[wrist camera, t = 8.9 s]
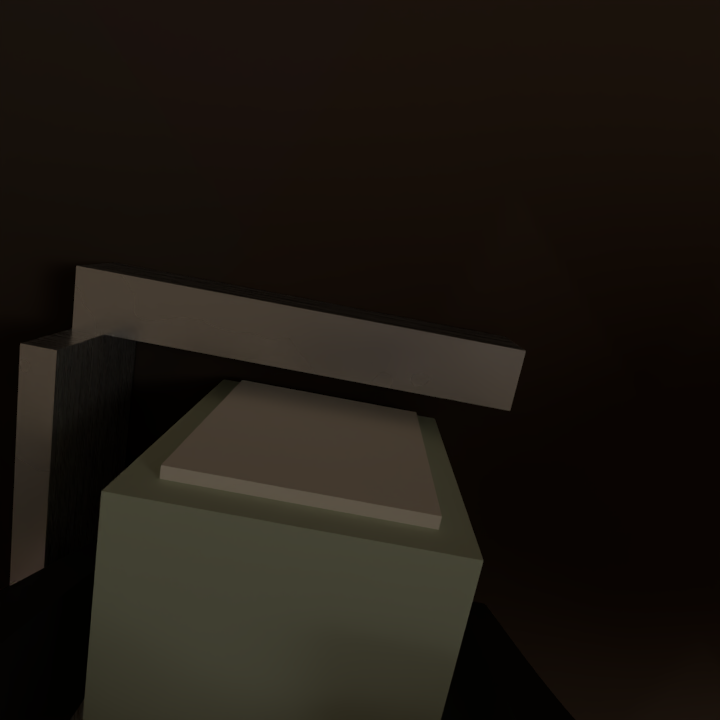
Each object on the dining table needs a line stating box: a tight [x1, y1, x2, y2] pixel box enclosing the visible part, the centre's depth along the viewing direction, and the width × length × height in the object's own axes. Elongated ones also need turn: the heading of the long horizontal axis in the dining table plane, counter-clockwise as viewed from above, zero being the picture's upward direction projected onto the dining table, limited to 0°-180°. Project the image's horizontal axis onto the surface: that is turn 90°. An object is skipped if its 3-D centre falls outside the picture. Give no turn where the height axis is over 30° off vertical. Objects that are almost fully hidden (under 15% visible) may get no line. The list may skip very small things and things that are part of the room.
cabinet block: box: [83, 379, 483, 720], centre depth 10 cm, size 5×8×6 cm, turn 170°
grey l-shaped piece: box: [10, 263, 526, 720], centre depth 11 cm, size 8×11×3 cm
